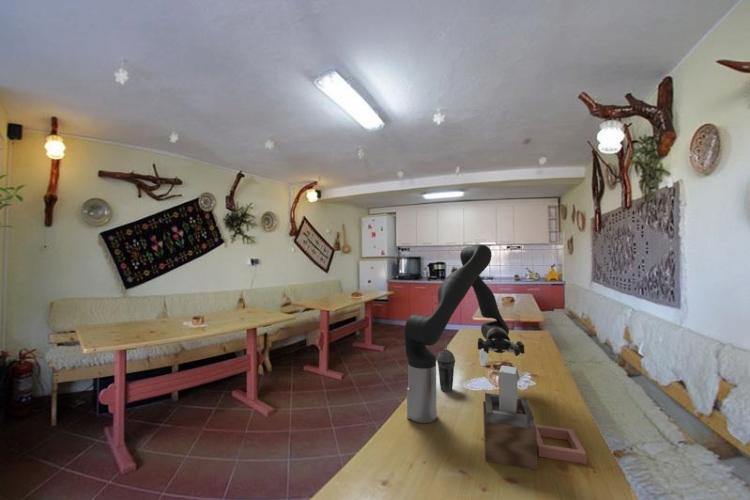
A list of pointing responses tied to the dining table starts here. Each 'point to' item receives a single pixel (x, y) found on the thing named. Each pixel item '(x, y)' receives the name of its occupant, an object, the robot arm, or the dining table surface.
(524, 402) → the walnut pedestal
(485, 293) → the robot arm
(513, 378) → the skincare box
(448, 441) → the dining table surface
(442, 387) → the beverage cup
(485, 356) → the milkshake
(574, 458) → the lower collar
